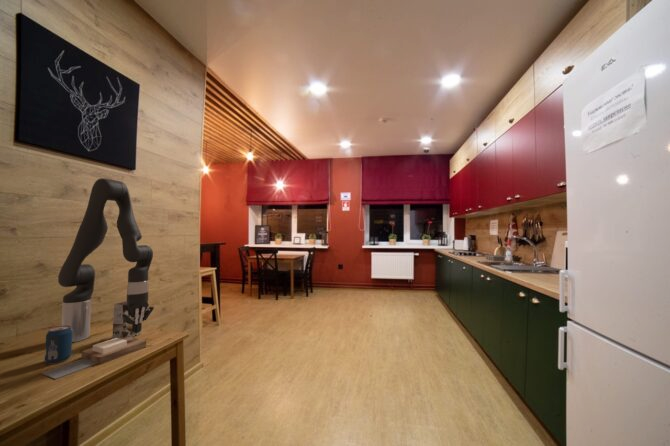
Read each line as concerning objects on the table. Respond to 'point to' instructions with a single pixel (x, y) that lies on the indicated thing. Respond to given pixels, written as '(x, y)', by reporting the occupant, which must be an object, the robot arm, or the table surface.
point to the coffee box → (121, 323)
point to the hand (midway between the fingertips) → (136, 332)
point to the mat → (69, 368)
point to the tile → (109, 345)
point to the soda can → (58, 344)
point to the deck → (114, 351)
